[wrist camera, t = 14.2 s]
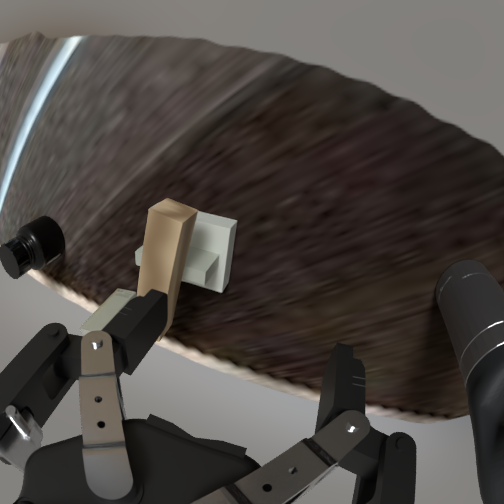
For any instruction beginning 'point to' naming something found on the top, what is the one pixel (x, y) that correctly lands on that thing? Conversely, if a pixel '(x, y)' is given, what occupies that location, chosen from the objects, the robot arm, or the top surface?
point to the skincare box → (107, 310)
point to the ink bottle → (32, 247)
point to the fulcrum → (208, 252)
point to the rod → (166, 251)
